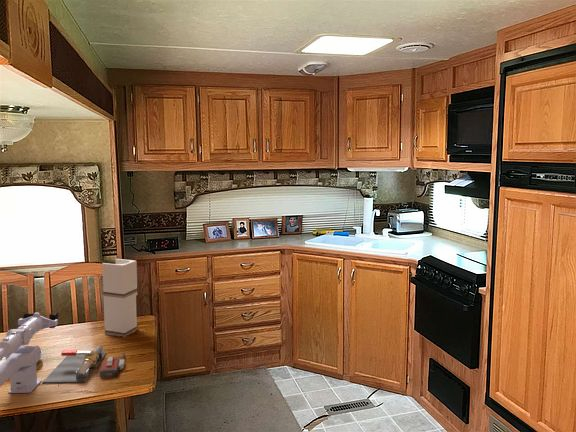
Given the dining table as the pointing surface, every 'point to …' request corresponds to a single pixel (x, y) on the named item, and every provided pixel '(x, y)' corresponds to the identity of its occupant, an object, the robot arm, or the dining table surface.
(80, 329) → the dining table surface
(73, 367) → the mounting board
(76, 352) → the valve lever
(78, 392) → the dining table surface
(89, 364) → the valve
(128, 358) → the dining table surface
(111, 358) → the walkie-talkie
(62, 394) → the dining table surface
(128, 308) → the tall square wastebasket
